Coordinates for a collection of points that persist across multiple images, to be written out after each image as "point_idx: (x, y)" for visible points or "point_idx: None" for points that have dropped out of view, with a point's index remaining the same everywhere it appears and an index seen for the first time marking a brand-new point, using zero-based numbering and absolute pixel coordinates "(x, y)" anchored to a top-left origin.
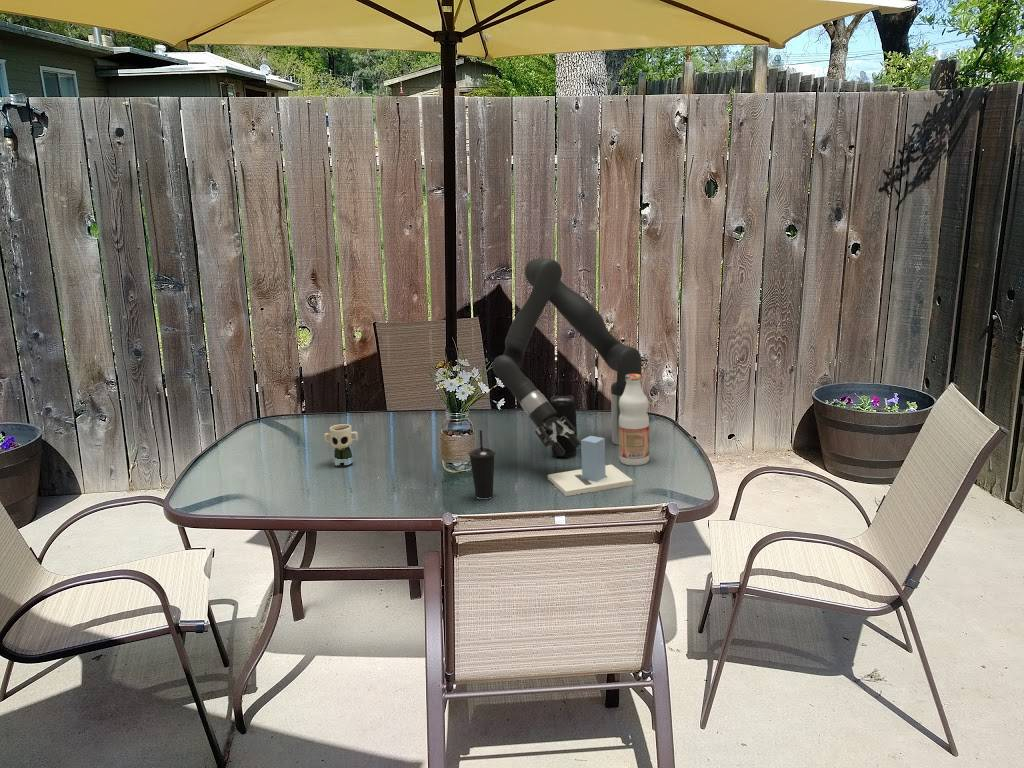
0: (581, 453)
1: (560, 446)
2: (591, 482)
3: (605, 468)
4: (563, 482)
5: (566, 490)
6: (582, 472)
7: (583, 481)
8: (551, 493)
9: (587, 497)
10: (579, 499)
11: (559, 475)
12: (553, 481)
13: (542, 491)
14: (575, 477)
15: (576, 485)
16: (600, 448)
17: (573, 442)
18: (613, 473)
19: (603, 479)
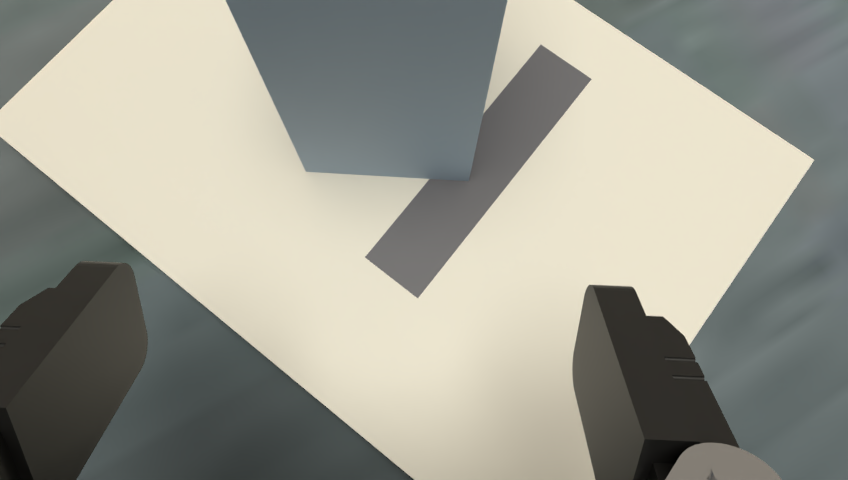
0: (498, 41)
1: (643, 356)
2: (505, 69)
3: (115, 122)
4: (639, 293)
5: (793, 165)
6: (474, 150)
7: (522, 139)
8: (807, 323)
9: (704, 22)
10: (775, 55)
11: (491, 437)
12: None
13: (818, 427)
14: (463, 257)
15: (640, 146)
16: None
17: (100, 387)
18: (214, 5)
19: None
